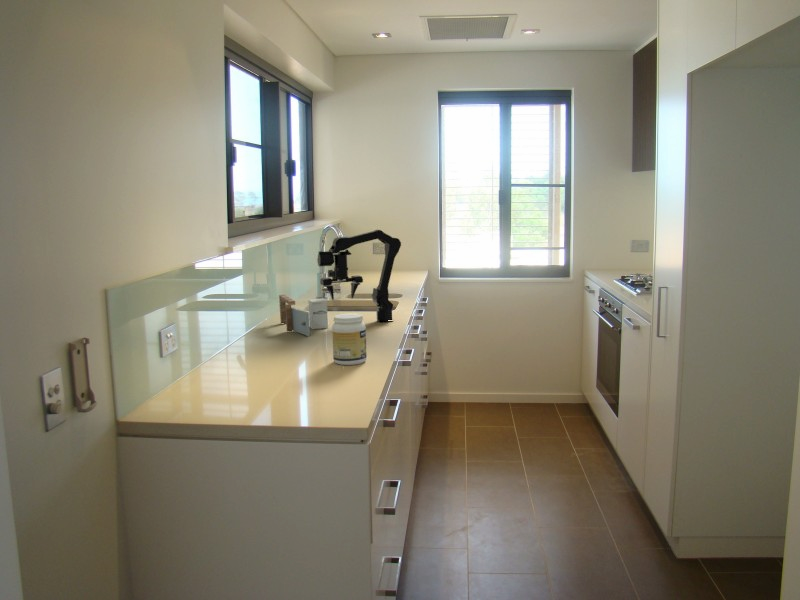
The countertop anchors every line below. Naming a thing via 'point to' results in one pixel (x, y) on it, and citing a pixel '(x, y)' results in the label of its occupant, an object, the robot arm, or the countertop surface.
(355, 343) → the supplement tub
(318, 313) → the supplement box
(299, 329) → the door
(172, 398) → the countertop surface
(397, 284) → the countertop surface
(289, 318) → the door frame
